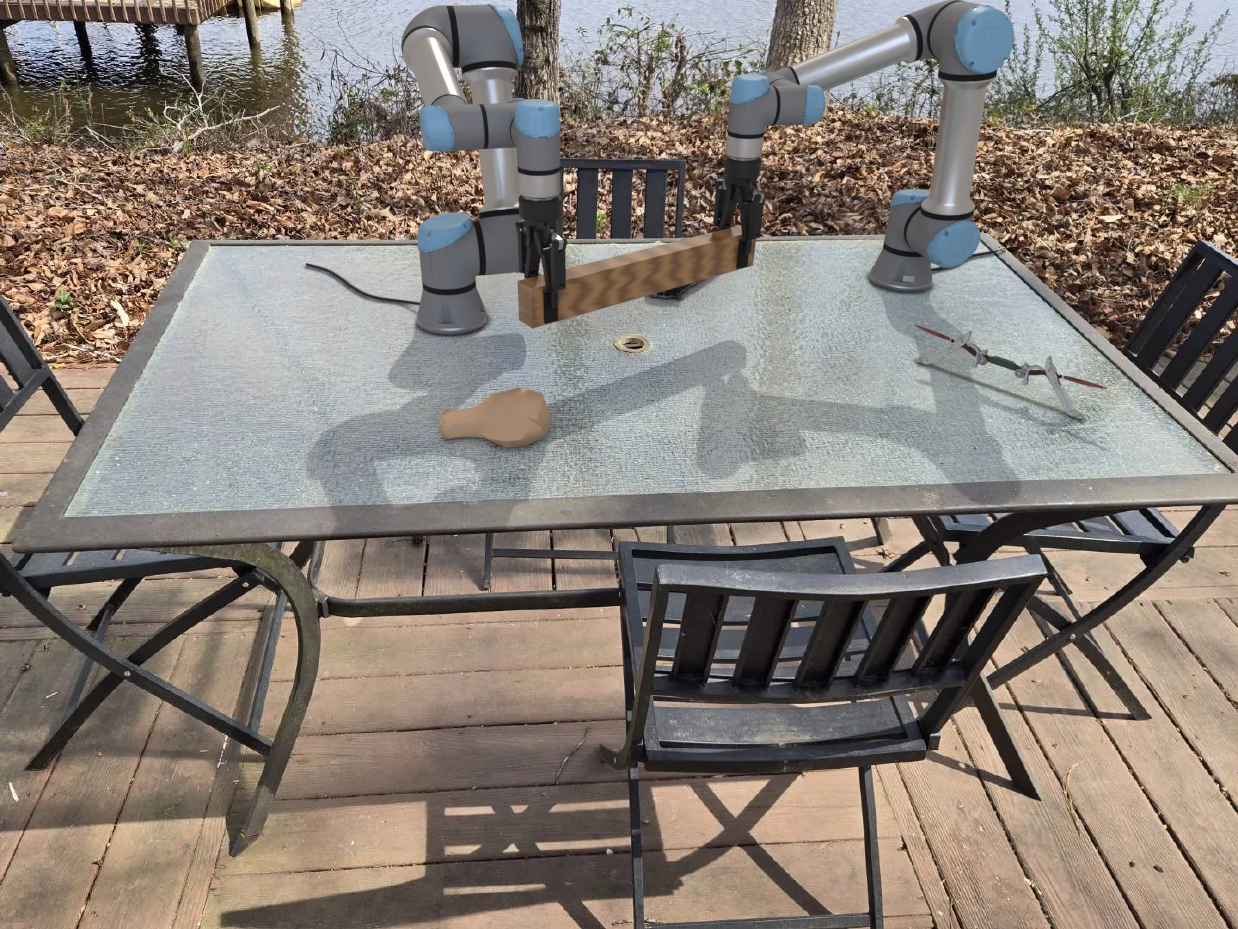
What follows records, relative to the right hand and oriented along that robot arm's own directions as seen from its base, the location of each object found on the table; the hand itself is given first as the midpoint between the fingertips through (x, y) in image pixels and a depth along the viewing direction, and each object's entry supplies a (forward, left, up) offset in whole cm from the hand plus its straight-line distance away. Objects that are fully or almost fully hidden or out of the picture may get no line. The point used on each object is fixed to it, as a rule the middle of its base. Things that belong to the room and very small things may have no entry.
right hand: (733, 263), depth 195 cm
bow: (-32, +50, -13) cm, 61 cm away
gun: (-1, -29, -13) cm, 32 cm away
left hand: (+50, +11, 0) cm, 51 cm away
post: (+25, +5, 0) cm, 25 cm away
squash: (+66, +28, -13) cm, 73 cm away
